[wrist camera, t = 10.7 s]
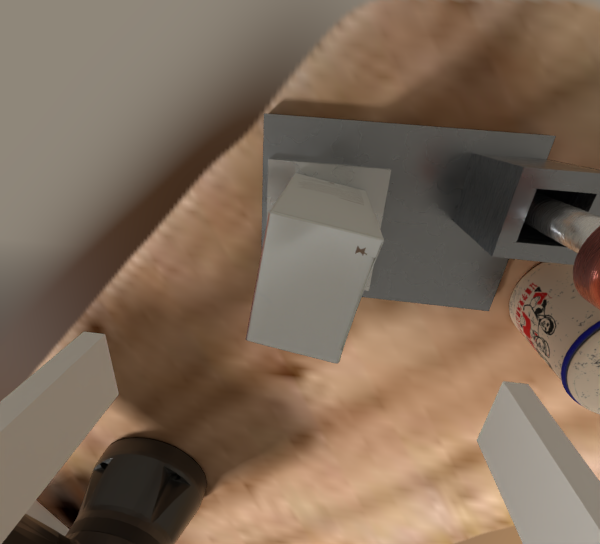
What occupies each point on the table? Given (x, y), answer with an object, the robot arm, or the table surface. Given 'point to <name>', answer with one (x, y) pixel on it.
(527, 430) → the robot arm
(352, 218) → the small box
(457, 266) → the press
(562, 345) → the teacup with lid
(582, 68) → the table surface
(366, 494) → the table surface
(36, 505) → the gable box
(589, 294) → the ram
